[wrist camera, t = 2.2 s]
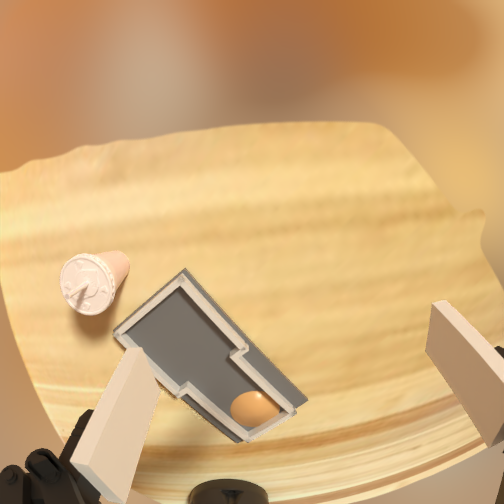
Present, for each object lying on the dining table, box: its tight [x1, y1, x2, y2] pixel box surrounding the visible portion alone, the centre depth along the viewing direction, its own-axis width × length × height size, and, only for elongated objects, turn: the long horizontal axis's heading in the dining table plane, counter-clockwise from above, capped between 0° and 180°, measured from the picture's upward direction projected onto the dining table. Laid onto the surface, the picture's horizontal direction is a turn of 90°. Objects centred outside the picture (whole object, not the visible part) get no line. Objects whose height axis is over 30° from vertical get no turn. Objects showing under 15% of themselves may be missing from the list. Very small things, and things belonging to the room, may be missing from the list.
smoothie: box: [60, 251, 130, 316], centre depth 31 cm, size 6×6×14 cm
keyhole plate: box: [113, 268, 308, 443], centre depth 40 cm, size 14×26×2 cm, turn 39°
